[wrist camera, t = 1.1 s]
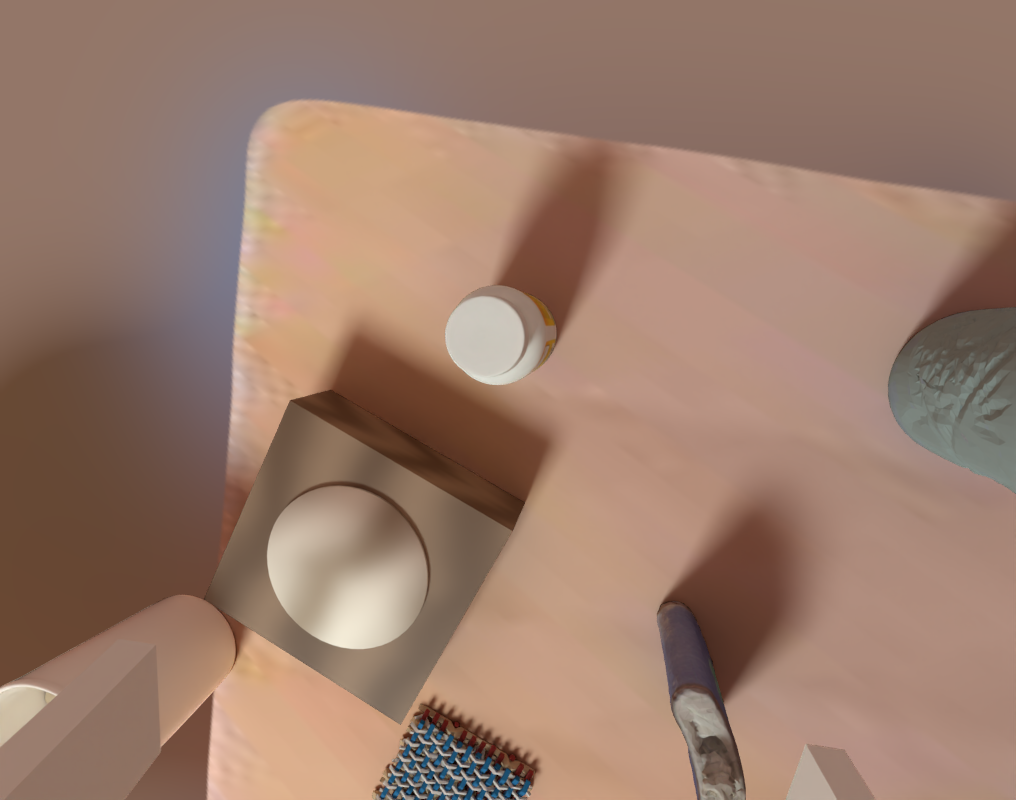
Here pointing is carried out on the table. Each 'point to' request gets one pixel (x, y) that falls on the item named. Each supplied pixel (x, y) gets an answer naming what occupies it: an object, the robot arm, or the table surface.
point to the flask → (699, 706)
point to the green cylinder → (962, 391)
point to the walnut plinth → (360, 550)
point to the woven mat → (451, 766)
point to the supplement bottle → (500, 334)
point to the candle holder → (180, 663)
